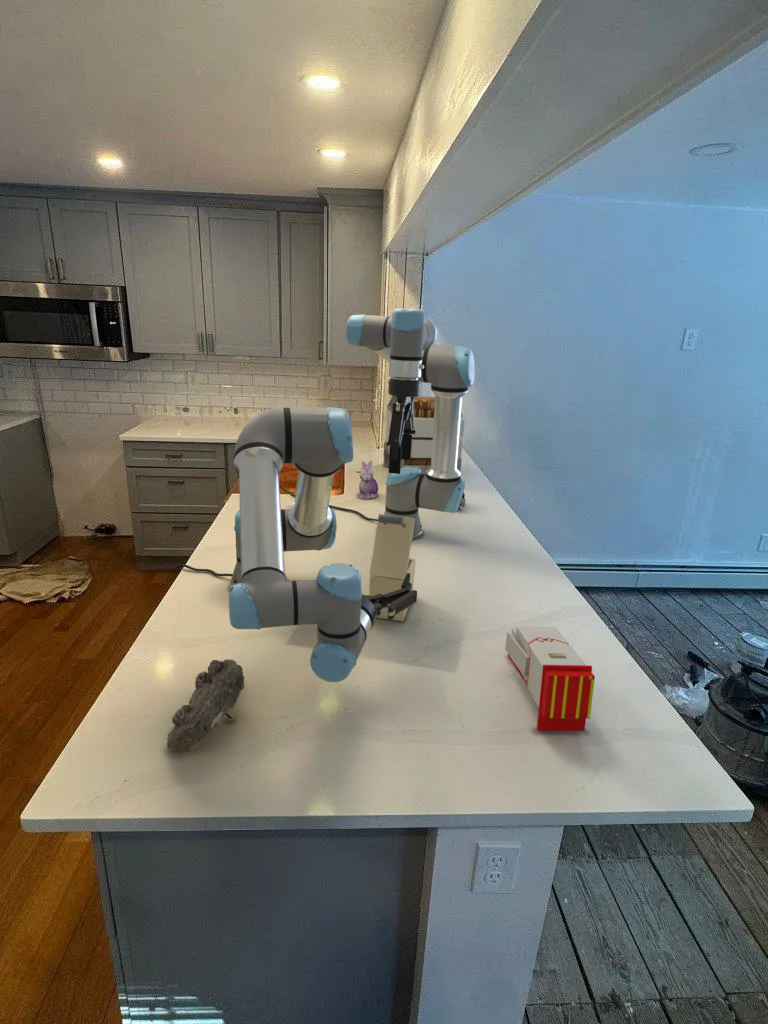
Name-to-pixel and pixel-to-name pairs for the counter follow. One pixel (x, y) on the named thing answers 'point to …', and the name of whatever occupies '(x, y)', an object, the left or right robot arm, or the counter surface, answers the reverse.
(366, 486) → the figurine
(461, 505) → the figurine character
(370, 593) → the chest
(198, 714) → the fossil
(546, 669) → the toy
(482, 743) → the counter surface
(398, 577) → the lid
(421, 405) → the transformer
